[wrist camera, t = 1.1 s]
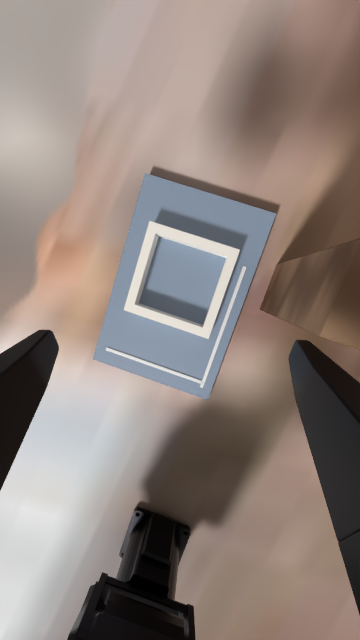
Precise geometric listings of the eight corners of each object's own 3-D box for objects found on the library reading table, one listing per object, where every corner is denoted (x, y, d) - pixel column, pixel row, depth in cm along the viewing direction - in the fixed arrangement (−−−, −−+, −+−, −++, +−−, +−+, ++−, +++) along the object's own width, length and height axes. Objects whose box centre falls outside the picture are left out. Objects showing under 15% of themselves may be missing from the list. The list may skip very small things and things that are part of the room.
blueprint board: (207, 395, 26) (207, 407, 23) (97, 356, 26) (85, 363, 24) (273, 216, 23) (281, 208, 20) (147, 177, 24) (140, 165, 21)
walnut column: (305, 324, 24) (418, 369, 11) (259, 309, 24) (319, 336, 11) (323, 279, 23) (468, 270, 10) (277, 264, 23) (361, 238, 11)
